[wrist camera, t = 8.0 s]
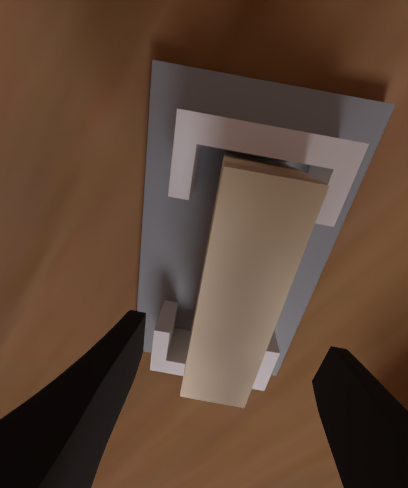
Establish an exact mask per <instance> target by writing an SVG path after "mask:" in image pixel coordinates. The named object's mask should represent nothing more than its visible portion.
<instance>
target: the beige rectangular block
mask: <svg viewBox="0 0 408 488" xmlns="http://www.w3.org/2000/svg"><path fill="white" fill-rule="evenodd" d="M329 186H330V185H328V184H326V183H324V182H322V181H320V180H318V179H316V178H314V177H313V176H311V175H309V174H307V173H305V172H303V171H301V170H299V169H297V168H296V167H294V166H292V165H290V164H288V163H284V162H278V161H273V160H267V159H262V158H256V157H251V156H245V155H240V154H234V153H229V152H224V156H223V161H222V166H221V172H220V177H219V182H218V188H217V193H216V198H215V204H214V209H213V214H212V220H211V225H210V231H209V236H208V241H207V247H206V252H205V257H204V263H203V268H202V273H201V279H200V284H199V289H198V295H197V300H196V305H195V311H194V316H193V322H192V328H191V334H190V339H189V345H188V351H187V357H186V363H185V369H184V375H183V381H182V387H181V392H180V396H181V397H186V398H192V399H197V400H203V401H208V402H214V403H219V404H225V405H230V406H236V407H241V408H244V407H245V405H246V402H247V400H248V397H249V394H250V392H251V389H252V386H253V384H254V381H255V379H256V376H257V373H258V371H259V368H260V366H261V363H262V360H263V358H264V355H265V353H266V350H267V347H268V345H269V342H270V340H271V337H272V334H273V332H274V329H275V327H276V324H277V321H278V319H279V316H280V314H281V311H282V308H283V306H284V303H285V301H286V298H287V295H288V293H289V290H290V287H291V285H292V282H293V280H294V277H295V274H296V272H297V269H298V267H299V264H300V261H301V259H302V256H303V254H304V251H305V248H306V246H307V243H308V241H309V238H310V235H311V233H312V230H313V228H314V225H315V222H316V220H317V217H318V215H319V212H320V209H321V207H322V204H323V201H324V199H325V196H326V194H327V191H328V188H329Z"/></svg>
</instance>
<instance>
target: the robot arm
mask: <svg viewBox="0 0 408 488" xmlns="http://www.w3.org/2000/svg"><path fill="white" fill-rule="evenodd" d="M145 323H146V313H144V312H139V311H133V310H130V311H128V312H127V313H126V314H125V315H124V316H123V318H122V319H121V320H120V321H119V322H118V323H117V324H116V325H115V326H114V327H113V328H112V329H111V330H110V331H109V332H108V333H107V334H106V335H105V336H104V337H103V338H102V339H101V340H99V341H98V342H97V343H96V344H95V345H94V346H93V347H92V348H91V349H90V350H89V351H88V352H87V353H85V354H84V355H83V356H82V357H81V358H80V359H78V360H77V361H76V362H75V363H74V364H73V365H71V366H70V367H69V368H68V369H67V370H66V371H64V372H63V373H62V374H61V375H60V376H58V377H57V378H56V379H55V380H53V381H52V382H51V383H50V384H48V385H47V386H46V387H44V388H43V389H42V390H40V391H39V392H38V393H36V394H35V395H34V396H32V397H31V398H30V399H28V400H27V401H26V402H24V403H23V404H21V405H20V406H19V407H17V408H16V409H14V410H13V411H11V412H10V413H9V414H7V415H6V416H4V417H3V418H1V419H0V488H91V486H92V483H93V480H94V477H95V474H96V472H97V469H98V466H99V463H100V460H101V457H102V455H103V452H104V450H105V447H106V444H107V442H108V440H109V437H110V435H111V433H112V430H113V428H114V426H115V423H116V421H117V419H118V416H119V414H120V412H121V409H122V407H123V404H124V402H125V400H126V397H127V395H128V393H129V390H130V388H131V386H132V383H133V381H134V378H135V375H136V372H137V369H138V366H139V363H140V360H141V356H142V353H143V347H144V335H145ZM312 383H313V389H314V394H315V399H316V403H317V407H318V412H319V415H320V418H321V421H322V424H323V427H324V430H325V433H326V436H327V439H328V442H329V445H330V448H331V451H332V454H333V457H334V460H335V463H336V466H337V469H338V472H339V475H340V478H341V481H342V484H343V487H344V488H408V411H407V410H406V409H405V408H404V407H403V406H402V405H401V404H400V403H399V402H398V401H397V400H396V399H395V398H394V397H393V396H392V395H391V394H390V393H389V392H388V391H387V390H386V389H385V388H384V387H383V386H382V384H381V383H380V382H379V381H378V380H377V379H376V378H375V377H374V376H373V375H372V374H371V373H370V372H369V371H368V370H367V369H366V368H365V367H364V366H363V365H362V364H361V363H360V362H359V361H358V360H357V359H356V358H355V357H354V356H353V355H352V354H351V353H350V352H349V351H348V350H347V349H343V348H337V347H332V346H331V347H330V349H329V351H328V353H327V355H326V356H325V358H324V360H323V362H322V364H321V366H320V368H319V369H318V371H317V373H316V375H315V377H314V379H313V380H312Z"/></svg>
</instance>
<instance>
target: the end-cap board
mask: <svg viewBox="0 0 408 488" xmlns="http://www.w3.org/2000/svg"><path fill="white" fill-rule="evenodd" d="M394 107H395V104H391V103H385V102H380V101H374V100H369V99H363V98H358V97H353V96H347V95H342V94H336V93H331V92H325V91H320V90H315V89H309V88H304V87H298V86H293V85H287V84H282V83H277V82H271V81H266V80H260V79H255V78H249V77H244V76H239V75H233V74H228V73H222V72H217V71H211V70H206V69H201V68H195V67H190V66H184V65H179V64H173V63H168V62H163V61H157V60H152V73H151V90H150V106H149V123H148V139H147V156H146V172H145V189H144V205H143V221H142V238H141V254H140V271H139V287H138V304H137V311H139V312H144V313H146V323H145V335H144V347H143V351H144V352H150V353H152V355H151V365H150V370H153V371H159V372H164V373H170V374H175V375H181V376H183V375H184V369H185V363H186V357H187V351H188V345H189V339H190V334H191V328H192V322H193V316H194V311H195V305H196V300H197V295H198V289H199V284H200V279H201V273H202V268H203V263H204V257H205V252H206V247H207V241H208V236H209V231H210V225H211V220H212V214H213V209H214V204H215V198H216V193H217V188H218V182H219V177H220V172H221V166H222V161H223V156H224V152H229V153H234V154H240V155H245V156H251V157H256V158H262V159H267V160H273V161H278V162H284V163H288V164H290V165H292V166H294V167H296V168H297V169H299V170H301V171H303V172H305V173H307V174H309V175H311V176H313V177H314V178H316V179H318V180H320V181H322V182H324V183H326V184H328V185H330V186H329V188H328V191H327V194H326V196H325V199H324V201H323V204H322V207H321V209H320V212H319V215H318V217H317V220H316V222H315V225H314V228H313V230H312V233H311V235H310V238H309V241H308V243H307V246H306V248H305V251H304V254H303V256H302V259H301V261H300V264H299V267H298V269H297V272H296V274H295V277H294V280H293V282H292V285H291V287H290V290H289V293H288V295H287V298H286V301H285V303H284V306H283V308H282V311H281V314H280V316H279V319H278V321H277V324H276V327H275V329H274V332H273V334H272V337H271V340H270V342H269V345H268V347H267V350H266V353H265V355H264V358H263V360H262V363H261V366H260V368H259V371H258V373H257V376H256V379H255V381H254V384H253V386H252V389H256V390H262V391H264V390H265V388H266V385H267V383H268V381H269V378H270V376H271V375H274V376H276V375H277V373H278V370H279V368H280V366H281V363H282V361H283V359H284V357H285V354H286V352H287V350H288V348H289V345H290V343H291V341H292V338H293V336H294V334H295V332H296V329H297V327H298V325H299V323H300V320H301V318H302V316H303V313H304V311H305V309H306V307H307V304H308V302H309V300H310V298H311V295H312V293H313V291H314V288H315V286H316V284H317V282H318V279H319V277H320V275H321V273H322V270H323V268H324V266H325V263H326V261H327V259H328V257H329V254H330V252H331V250H332V248H333V245H334V243H335V241H336V238H337V236H338V234H339V232H340V229H341V227H342V225H343V223H344V220H345V218H346V216H347V213H348V211H349V209H350V207H351V204H352V202H353V200H354V198H355V195H356V193H357V191H358V188H359V186H360V184H361V182H362V179H363V177H364V175H365V173H366V170H367V168H368V166H369V163H370V161H371V159H372V157H373V154H374V152H375V150H376V148H377V145H378V143H379V141H380V138H381V136H382V134H383V132H384V129H385V127H386V125H387V123H388V120H389V118H390V116H391V113H392V111H393V109H394Z"/></svg>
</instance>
